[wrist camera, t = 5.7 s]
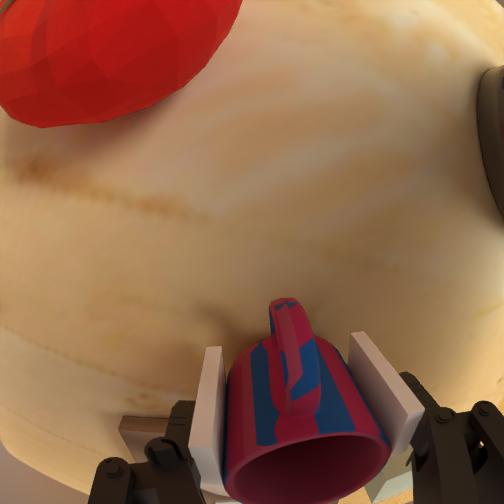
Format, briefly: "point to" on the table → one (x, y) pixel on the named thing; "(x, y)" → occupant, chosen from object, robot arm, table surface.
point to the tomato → (102, 55)
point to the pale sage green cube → (391, 478)
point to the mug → (297, 419)
